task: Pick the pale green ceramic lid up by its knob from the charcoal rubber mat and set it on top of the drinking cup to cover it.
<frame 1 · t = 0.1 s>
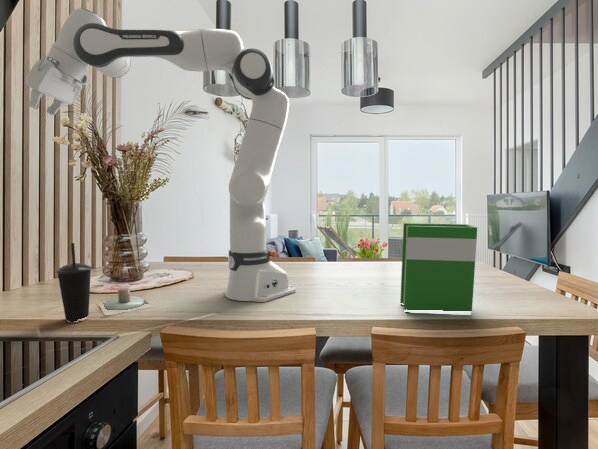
hand: (41, 110, 103), 54 cm above the table, tool tilted 30°, fingers open, 8 cm apart
hardback book: (434, 310, 106), on the table
lid: (124, 305, 106), resting on mat
mat: (124, 307, 106), on the table
drinking cup: (77, 322, 95), on the table
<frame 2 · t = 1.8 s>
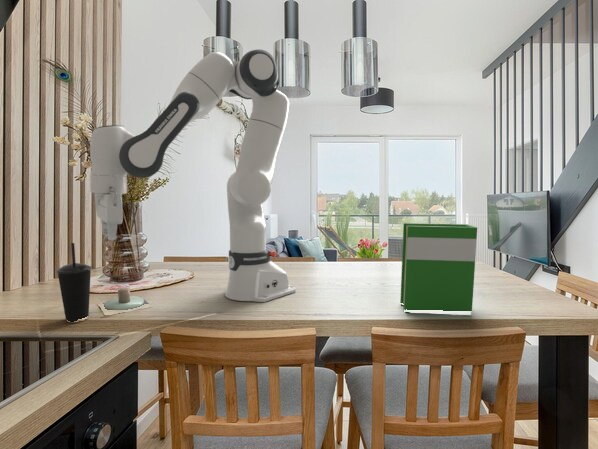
hand: (108, 237, 103), 20 cm above the table, tool pointing down, fingers open, 8 cm apart
nothing on the table moved.
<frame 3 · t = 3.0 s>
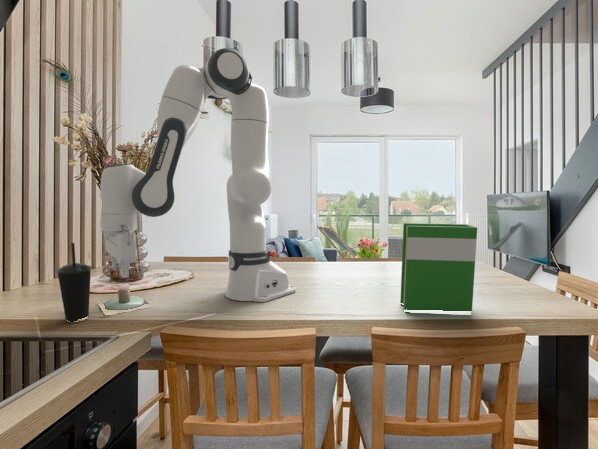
hand: (120, 273, 104), 10 cm above the table, tool pointing down, fingers open, 8 cm apart
nothing on the table moved.
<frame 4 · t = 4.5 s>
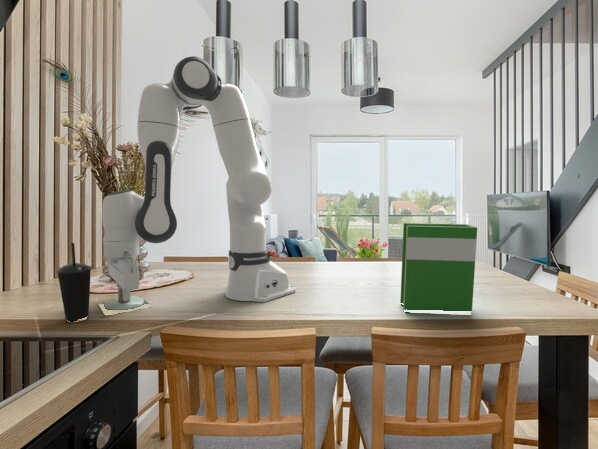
hand: (124, 298, 105), 3 cm above the table, tool pointing down, fingers closed on lid, 3 cm apart
lid: (124, 305, 106), resting on mat, touching gripper
everything else where it was.
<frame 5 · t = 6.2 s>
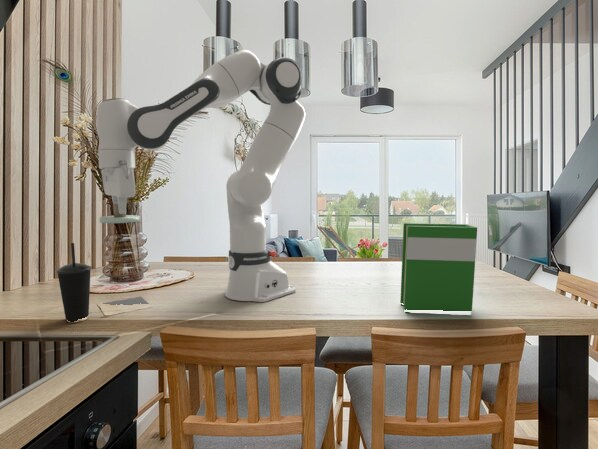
hand: (120, 213, 103), 27 cm above the table, tool pointing down, fingers closed on lid, 3 cm apart
lid: (120, 221, 103), point 24 cm above the table, touching gripper
everything else where it was.
when the fingers open (24 cm above the table, at t = 8.2 s): lid drops 1 cm, resting on drinking cup.
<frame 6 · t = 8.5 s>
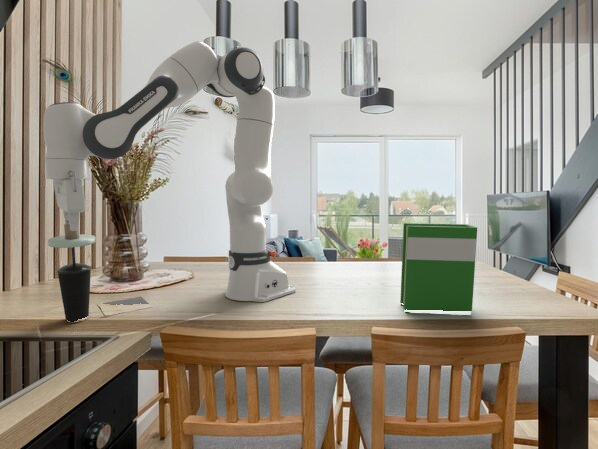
hand: (71, 228, 92), 24 cm above the table, tool pointing down, fingers open, 6 cm apart
lid: (72, 243, 93), point 20 cm above the table, touching drinking cup
drinking cup: (77, 322, 95), on the table, touching lid
everything else where it was.
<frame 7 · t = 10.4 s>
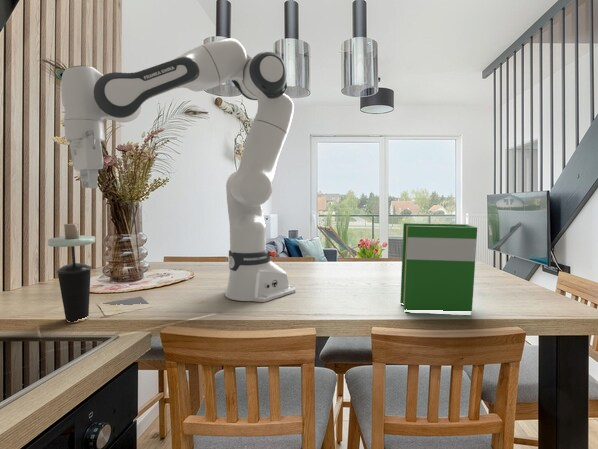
hand: (89, 188, 98), 33 cm above the table, tool pointing down, fingers open, 8 cm apart
nothing on the table moved.
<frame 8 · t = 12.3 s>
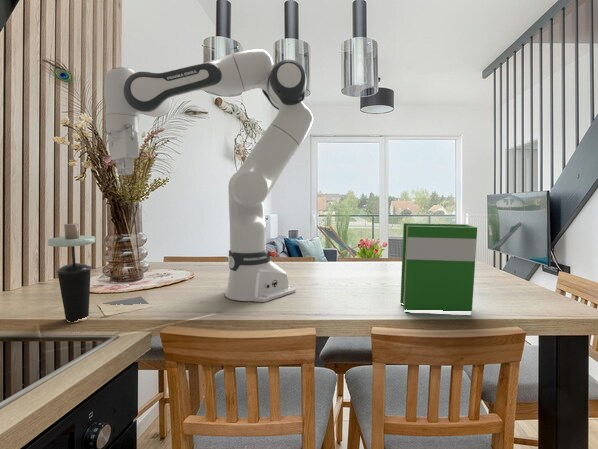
hand: (124, 174, 112), 37 cm above the table, tool pointing down, fingers open, 8 cm apart
nothing on the table moved.
at the end: lid 0.0 cm from the drinking cup (horizontally); lid point 20.0 cm above the table; drinking cup tilted 0° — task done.
